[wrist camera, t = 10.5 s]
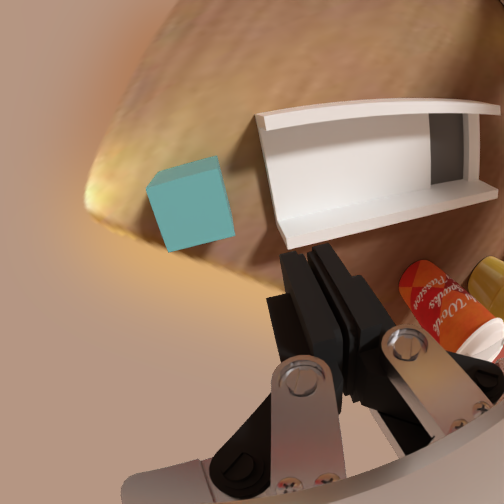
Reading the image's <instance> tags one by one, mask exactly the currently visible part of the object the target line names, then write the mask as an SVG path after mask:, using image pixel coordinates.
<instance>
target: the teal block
mask: <svg viewBox="0 0 504 504" xmlns="http://www.w3.org/2000/svg"><path fill="white" fill-rule="evenodd" d="M146 192H147V195H148V197H149V200H150V203H151V206H152V209H153V212H154V215H155V218H156V220H157V223H158V226H159V229H160V232H161V234H162V237H163V240H164V242H165V245H166V248H167V250H168V252H173V251H176V250H180V249H184V248H188V247H192V246H196V245H200V244H204V243H208V242H212V241H216V240H220V239H224V238H228V237H232V236H235V232H234V226H233V220H232V214H231V209H230V205H229V201H228V197H227V193H226V189H225V185H224V181H223V177H222V173H221V169H220V166H219V162H218V158H217V156H213V157H209V158H205V159H202V160H198V161H194V162H191V163H187V164H183V165H180V166H176V167H173V168H169V169H166V170H163V171H159V172H158V173H157V174H156V175H155V177H154V178H153V179H152V181H151V182H150V183H149V185H148V186H147V187H146Z"/></svg>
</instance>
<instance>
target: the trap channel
mask: <svg viewBox="0 0 504 504" xmlns="http://www.w3.org/2000/svg"><path fill="white" fill-rule="evenodd" d="M479 114H491V115H501V113H500V105H495V104H490V103H485V102H479V101H473V100H463V99H443V98H389V99H368V100H354V101H342V102H332V103H323V104H315V105H307V106H300V107H293V108H287V109H280V110H274V111H269V112H263V113H258V114H255V118H256V123H257V128H258V133H259V138H260V142H261V147H262V152H263V157H264V162H265V167H266V173H267V178H268V183H269V188H270V193H271V199H272V204H273V209H274V215H275V220H276V226H277V228H278V230H279V232H280V234H281V236H282V238H283V240H284V242H285V245H286V247H287V249H288V250H289V249H293V248H297V247H301V246H306V245H310V244H314V243H318V242H322V241H326V240H330V239H335V238H339V237H343V236H347V235H351V234H355V233H359V232H363V231H367V230H372V229H376V228H380V227H384V226H388V225H392V224H396V223H400V222H404V221H408V220H412V219H416V218H420V217H424V216H428V215H432V214H436V213H440V212H444V211H448V210H452V209H456V208H460V207H464V206H468V205H472V204H476V203H480V202H484V201H488V200H492V199H496V198H498V189H497V188H495V187H493V186H491V185H489V184H487V183H485V182H483V181H480V180H479V164H480V123H479Z"/></svg>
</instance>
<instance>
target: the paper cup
mask: <svg viewBox="0 0 504 504" xmlns="http://www.w3.org/2000/svg"><path fill="white" fill-rule="evenodd" d="M399 292H400V294H401V296H402V298H403V299H404V301H405V302H406V304H407V305H408V307H409V308H410V310H411V311H412V313H413V314H414V316H415V317H416V319H417V320H418V322H419V324H420V325H421V327H422V328H423V329H424V330H426V331H427V332H428V333H429V334H430V335H431V336H432V337H433V338H434V339H435V340H436V341H437V342H438V343H439V344H440V345H441V346H442V347H443V348H444V350H446V351H450V352H454V353H458V354H462V355H465V356H469V357H473V358H477V359H481V360H486V361H489V362H492V361H493V360H494V359H495V358H496V356H497V355H498V354H499V352H500V351H501V349H502V348H503V344H504V322H503V320H502V319H501V318H496V317H495V316H494V315H493V314H491V313H490V312H489V311H488V310H487V309H486V308H485V307H484V306H483V305H482V304H481V303H480V302H478V301H477V300H476V299H475V298H474V297H473V296H472V295H471V294H469V293H468V292H467V291H466V290H465V289H464V288H463V287H461V286H460V285H459V284H458V283H457V282H455V281H454V280H453V279H452V278H451V277H449V276H448V275H447V274H446V273H445V272H443V271H442V270H441V269H440V268H438V267H437V266H436V265H434V264H433V263H431V262H430V261H428V260H419V261H417V262H415V263H413V264H412V265H410V266H409V267H408V268H407V269H406V271H405V272H404V273H403V275H402V277H401V279H400V282H399Z"/></svg>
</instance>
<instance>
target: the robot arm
mask: <svg viewBox="0 0 504 504" xmlns="http://www.w3.org/2000/svg"><path fill="white" fill-rule="evenodd" d="M500 1H501V2H502V4H503V5H504V0H500ZM279 257H280V263H281V269H282V274H283V280H284V286H285V292H286V294H282V295H278V296H273V297H269V298H266V300H267V304H268V309H269V313H270V318H271V322H272V327H273V330H274V335H275V339H276V344H277V348H278V352H279V356H280V361H281V364H280V365H278V366H277V368H276V369H275V371H274V373H273V374H272V380H271V393H270V394H269V395H268V397H267V398H266V399H265V400H264V401H263V402H262V404H261V405H260V406H259V407H258V408H257V409H256V411H255V412H254V413H253V414H252V415H251V416H250V417H249V419H247V421H246V422H245V423H244V424H243V425H242V426H241V427H240V428H239V430H238V431H237V432H236V433H235V434H234V435H233V436H232V437H231V438H230V439H229V440H228V441H227V442H226V443H225V444H224V445H223V446H222V448H220V450H219V451H218V452H217V453H216V454H215V455H214V457H212V458H208V459H205V460H202V461H200V460H199V459H196V460H192V461H189V462H185V463H181V464H177V465H173V466H170V467H165V468H161V469H157V470H152V471H147V472H142V473H137V474H134V475H132V476H130V477H128V478H127V479H126V480H125V481H124V483H123V485H122V487H121V499H122V504H504V358H501V359H498V360H497V361H496V363H495V364H494V363H492V362H489V361H486V360H481V359H477V358H473V357H469V356H465V355H462V354H458V353H454V352H450V351H446V350H444V348H443V347H442V346H441V345H440V344H439V343H438V342H437V341H436V340H435V339H434V338H433V337H432V336H431V335H430V334H429V333H428V332H427V331H426V330H424V329H423V328H421V327H419V326H416V325H411V324H402V325H398V326H396V325H395V323H394V322H393V320H392V319H391V317H390V316H389V314H388V313H387V311H386V310H385V308H384V307H383V305H382V304H381V302H380V301H379V300H378V298H377V297H376V295H375V294H374V292H373V291H372V289H371V288H370V287H369V285H368V284H367V282H366V281H365V279H364V278H363V277H362V276H361V275H356V276H353V277H352V276H351V275H350V273H349V272H348V270H347V269H346V267H345V266H344V264H343V263H342V261H341V260H340V258H339V257H338V256H337V254H336V253H335V251H334V250H333V248H332V247H331V245H330V244H329V243H327V244H322V245H318V246H314V247H312V251H311V252H308V253H307V259H308V262H307V260H306V258H305V256H304V255H303V254H299V255H298V254H297V252H296V251H292V252H288V253H284V254H280V255H279ZM343 393H344V395H345V396H347V395H350V396H351V398H352V401H353V403H355V402H358V401H360V402H361V405H363V406H366V407H368V408H370V411H371V414H372V416H373V417H374V419H375V421H376V422H377V424H378V425H379V427H380V428H381V430H382V432H383V433H384V435H385V437H386V438H387V440H388V441H389V443H390V445H391V446H392V448H393V449H394V451H395V453H396V454H397V456H398V457H399V459H398V460H395V461H393V462H391V463H388V464H386V465H383V466H380V467H378V468H375V469H372V470H370V471H367V472H364V473H361V474H358V475H355V476H352V477H349V478H346V469H345V460H344V452H343V445H342V437H341V430H340V423H339V414H340V412H341V406H342V394H343Z"/></svg>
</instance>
